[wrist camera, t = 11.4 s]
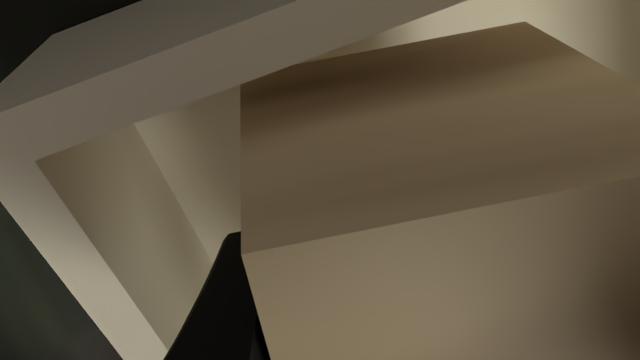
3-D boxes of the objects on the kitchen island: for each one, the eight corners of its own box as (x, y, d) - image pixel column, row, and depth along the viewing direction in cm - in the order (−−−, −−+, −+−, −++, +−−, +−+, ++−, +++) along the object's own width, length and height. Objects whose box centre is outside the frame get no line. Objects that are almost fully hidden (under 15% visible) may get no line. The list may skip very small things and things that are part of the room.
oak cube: (239, 74, 9) (240, 254, 5) (524, 21, 10) (758, 152, 5) (291, 293, 12) (320, 535, 8) (515, 248, 12) (667, 459, 8)
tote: (52, 34, 12) (-53, 132, 8) (671, -203, 11) (943, -243, 7) (315, 472, 21) (335, 631, 17) (668, 357, 20) (785, 492, 16)
